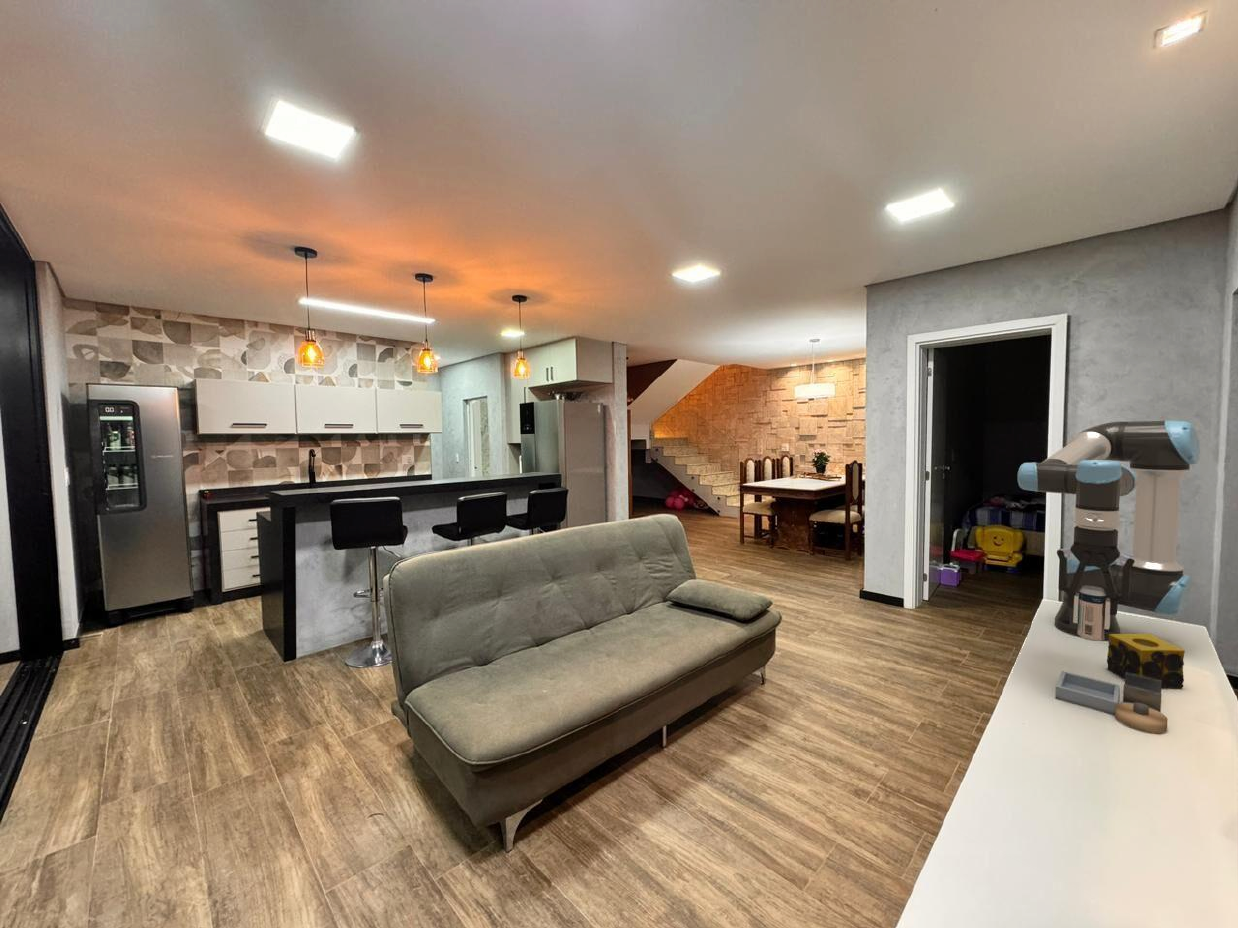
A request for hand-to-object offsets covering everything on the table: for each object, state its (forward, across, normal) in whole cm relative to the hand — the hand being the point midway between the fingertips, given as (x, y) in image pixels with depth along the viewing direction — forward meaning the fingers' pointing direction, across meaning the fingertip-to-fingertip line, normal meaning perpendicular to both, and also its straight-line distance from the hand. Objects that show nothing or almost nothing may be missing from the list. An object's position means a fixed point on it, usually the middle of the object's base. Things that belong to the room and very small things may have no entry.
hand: (1091, 624), depth 122 cm
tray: (+18, 0, 0) cm, 18 cm away
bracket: (+18, +9, +5) cm, 21 cm away
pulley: (+18, +9, -6) cm, 21 cm away
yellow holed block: (+18, +9, +21) cm, 29 cm away
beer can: (+4, 0, 0) cm, 4 cm away
